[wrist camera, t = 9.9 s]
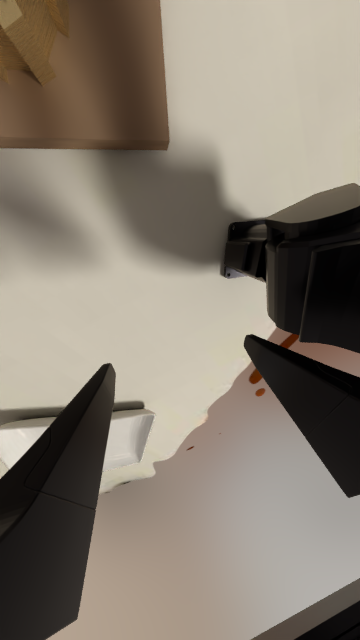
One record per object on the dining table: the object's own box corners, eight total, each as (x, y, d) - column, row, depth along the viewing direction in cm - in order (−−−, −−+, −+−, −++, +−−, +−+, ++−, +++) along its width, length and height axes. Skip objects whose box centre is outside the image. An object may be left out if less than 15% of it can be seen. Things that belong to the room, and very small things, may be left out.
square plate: (34, 467, 36) (23, 490, 33) (-2, 407, 24) (-25, 434, 21) (141, 449, 45) (141, 466, 42) (156, 398, 32) (157, 416, 29)
